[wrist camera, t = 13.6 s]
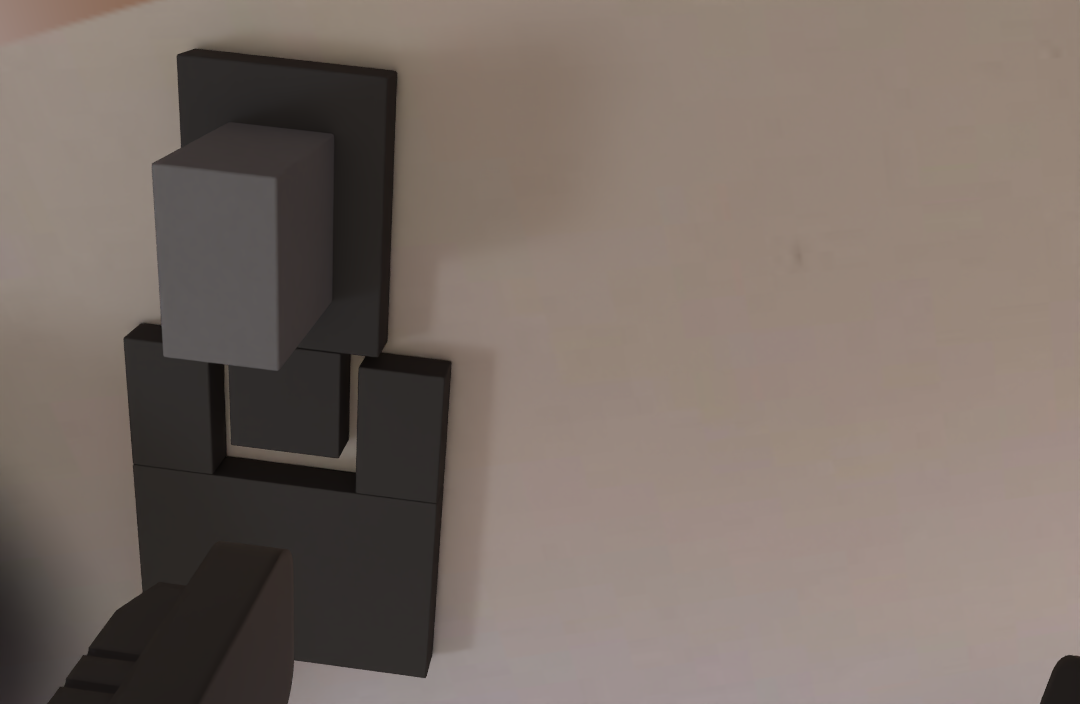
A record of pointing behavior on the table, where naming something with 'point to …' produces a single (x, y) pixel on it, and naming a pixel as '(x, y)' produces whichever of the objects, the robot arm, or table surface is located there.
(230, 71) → the pad
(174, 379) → the notch pad
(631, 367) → the table surface
